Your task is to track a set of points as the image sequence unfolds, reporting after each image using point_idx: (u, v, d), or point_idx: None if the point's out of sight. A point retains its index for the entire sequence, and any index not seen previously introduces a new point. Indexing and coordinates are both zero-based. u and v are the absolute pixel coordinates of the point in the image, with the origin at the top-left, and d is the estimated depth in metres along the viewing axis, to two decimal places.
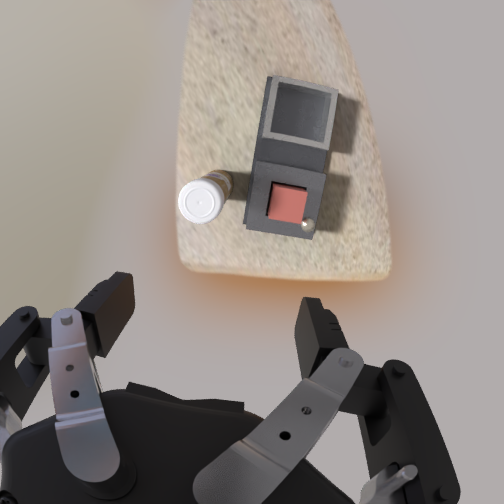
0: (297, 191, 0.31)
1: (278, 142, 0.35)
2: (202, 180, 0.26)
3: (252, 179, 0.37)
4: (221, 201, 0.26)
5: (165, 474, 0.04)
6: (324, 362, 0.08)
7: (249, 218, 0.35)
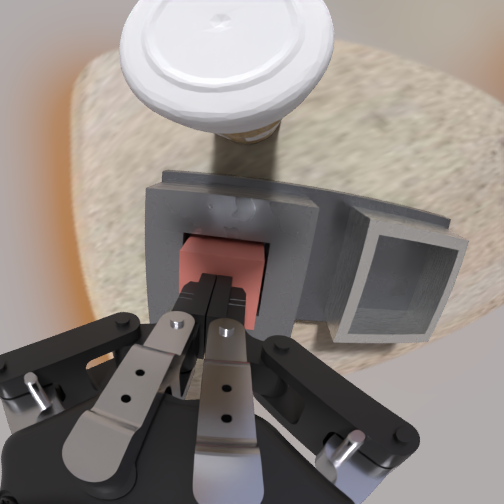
0: (254, 310, 0.14)
1: (340, 237, 0.18)
2: (332, 41, 0.04)
3: (262, 186, 0.17)
4: (226, 122, 0.05)
5: (164, 475, 0.04)
6: (208, 338, 0.08)
7: (172, 194, 0.13)
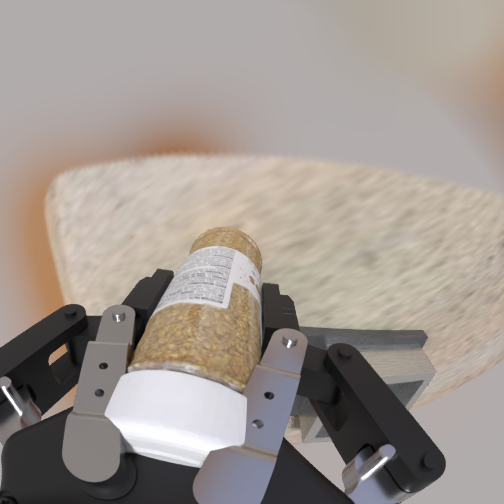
0: None
1: None
2: None
3: None
4: None
5: (165, 475, 0.04)
6: (269, 345, 0.08)
7: None
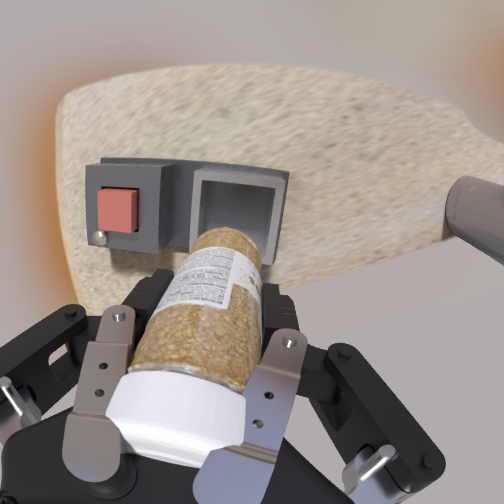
0: (130, 220, 0.24)
1: None
2: None
3: (149, 161, 0.27)
4: None
5: (165, 474, 0.04)
6: (269, 345, 0.08)
7: (96, 167, 0.24)
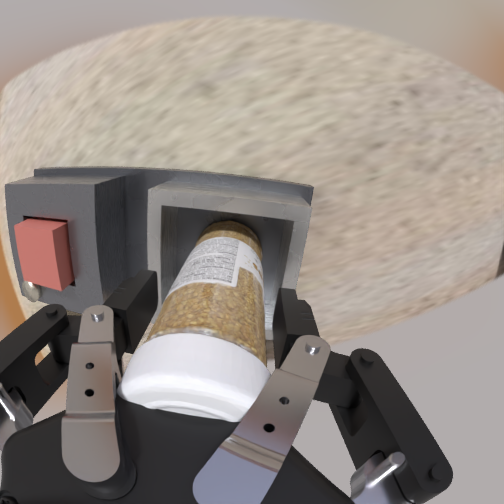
0: (57, 273, 0.13)
1: None
2: None
3: (92, 172, 0.16)
4: None
5: (164, 474, 0.04)
6: (291, 351, 0.08)
7: (15, 187, 0.13)
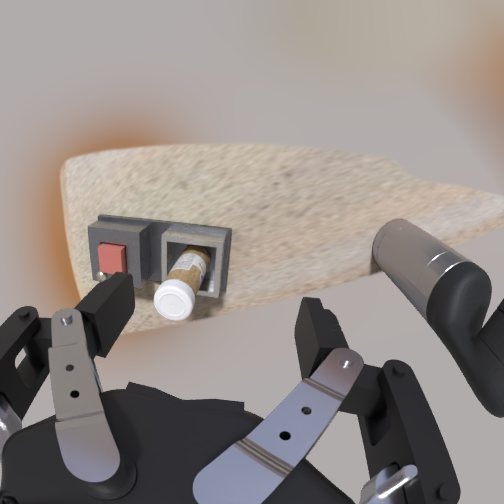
0: (121, 268, 0.36)
1: None
2: (192, 306, 0.29)
3: (132, 221, 0.39)
4: (176, 320, 0.29)
5: (165, 474, 0.04)
6: (324, 362, 0.08)
7: (95, 228, 0.35)
